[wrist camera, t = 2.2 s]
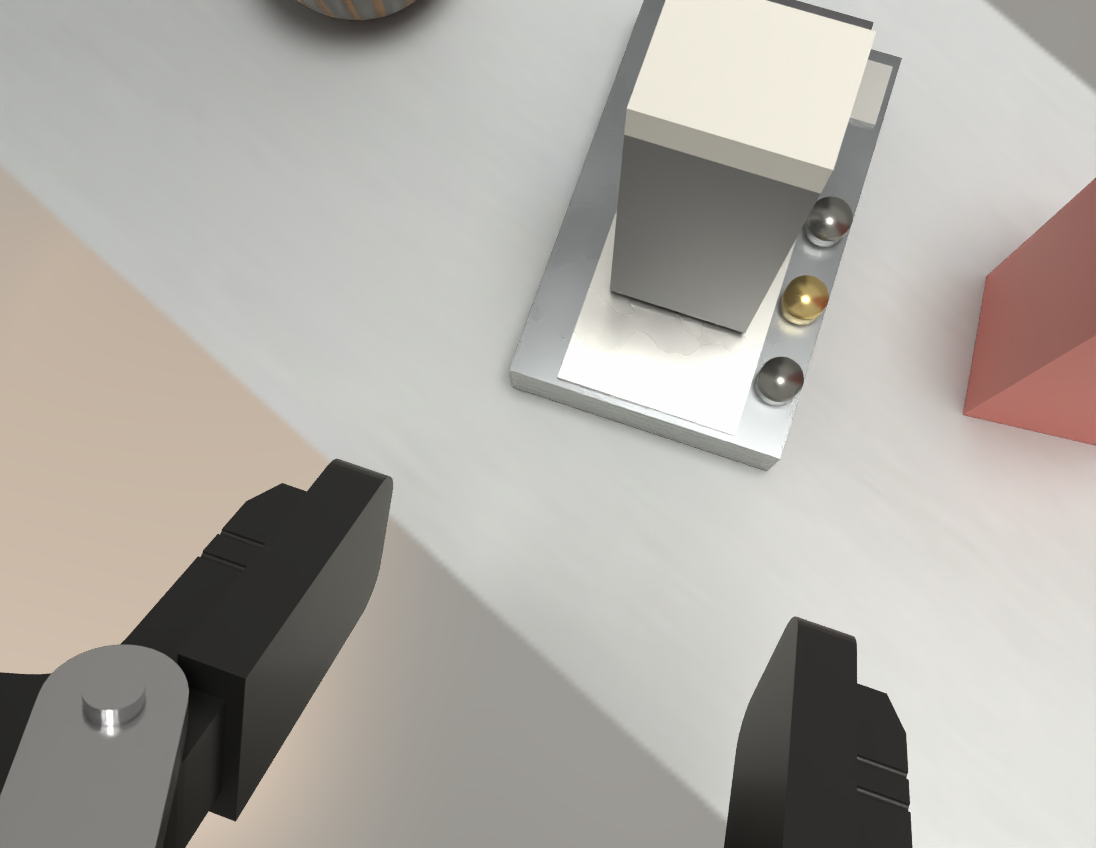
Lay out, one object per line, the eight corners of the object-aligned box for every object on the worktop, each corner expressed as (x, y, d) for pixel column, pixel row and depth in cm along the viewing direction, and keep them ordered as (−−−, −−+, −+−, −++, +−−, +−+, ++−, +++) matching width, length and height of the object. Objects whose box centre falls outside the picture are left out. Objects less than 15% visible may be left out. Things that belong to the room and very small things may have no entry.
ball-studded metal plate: (766, 470, 30) (803, 437, 25) (513, 387, 31) (501, 338, 26) (882, 93, 33) (935, -4, 28) (644, 24, 33) (656, -82, 29)
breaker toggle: (745, 333, 28) (833, 170, 19) (609, 290, 29) (626, 108, 19) (775, 238, 29) (876, 31, 19) (642, 197, 29) (675, -26, 20)
